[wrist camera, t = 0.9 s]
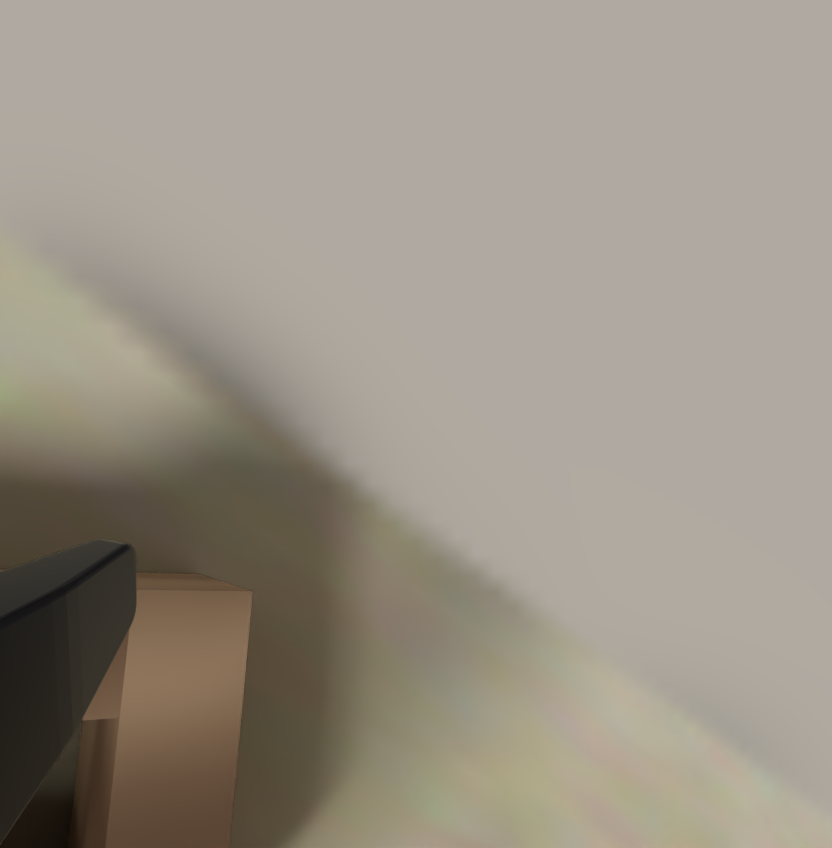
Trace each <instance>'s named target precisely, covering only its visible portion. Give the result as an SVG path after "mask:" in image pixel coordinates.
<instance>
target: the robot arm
mask: <svg viewBox="0 0 832 848" xmlns="http://www.w3.org/2000/svg"><path fill="white" fill-rule="evenodd" d="M136 606H137V586H136V554H135V550H134V548H133V547H132V546H131V545H130V544H128V543H124V542H118V541H112V540H107V539H95V540H92V541H89V542H86V543H83V544H80V545H77V546H74V547H71V548H68V549H66V550H63V551H60V552H57V553H54V554H51V555H48V556H45V557H42V558H39V559H36V560H33V561H30V562H27V563H24V564H21V565H18V566H15V567H12V568H9V569H6V570H3V571H1V572H0V845H1V844H2V842H3V841H4V839H5V838H6V836H7V835H8V833H9V832H10V830H11V829H12V827H13V826H14V824H15V823H16V821H17V820H18V818H19V817H20V815H21V814H22V812H23V811H24V809H25V808H26V806H27V805H28V803H29V802H30V800H31V799H32V797H33V796H34V794H35V793H36V791H37V790H38V788H39V787H40V785H41V784H42V782H43V781H44V779H45V778H46V776H47V775H48V773H49V772H50V770H51V769H52V767H53V766H54V764H55V763H56V761H57V760H58V758H59V757H60V755H61V754H62V752H63V751H64V749H65V747H66V746H67V744H68V743H69V741H70V740H71V738H72V736H73V735H74V733H75V731H76V729H77V728H78V726H79V724H80V722H81V720H82V719H83V717H84V715H85V713H86V711H87V709H88V707H89V705H90V704H91V702H92V700H93V698H94V696H95V694H96V692H97V690H98V688H99V686H100V684H101V682H102V680H103V679H104V677H105V675H106V673H107V671H108V669H109V667H110V665H111V663H112V661H113V659H114V657H115V656H116V654H117V652H118V650H119V648H120V646H121V644H122V642H123V640H124V638H125V636H126V634H127V633H128V631H129V629H130V627H131V625H132V622H133V620H134V616H135V612H136Z"/></svg>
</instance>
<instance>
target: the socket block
mask: <svg viewBox="0 0 832 848" xmlns="http://www.w3.org/2000/svg"><path fill="white" fill-rule="evenodd" d="M3 570H6V569H0V572H1V571H3ZM136 586H137V606H136V612H135V616H134V620H133V622H132V625H131V627H130V629H129V631H128V633H127V634H126V636H125V638H124V640H123V642H122V644H121V646H120V648H119V650H118V652H117V654H116V656H115V657H114V659H113V661H112V663H111V665H110V667H109V669H108V671H107V673H106V675H105V677H104V679H103V680H102V682H101V684H100V686H99V688H98V690H97V692H96V694H95V696H94V698H93V700H92V702H91V704H90V705H89V707H88V709H87V711H86V713H85V715H84V717H83V719H82V729H81V737H80V746H79V755H78V763H77V772H76V780H75V789H74V798H73V806H72V815H71V824H70V832H69V841H68V848H230V837H231V826H232V815H233V804H234V793H235V782H236V771H237V760H238V749H239V738H240V727H241V716H242V705H243V694H244V683H245V672H246V661H247V650H248V639H249V628H250V617H251V606H252V595H253V591H250V590H247V589H244V588H241V587H238V586H235V585H231V584H228V583H225V582H222V581H219V580H216V579H213V578H210V577H207V576H204V575H201V574H179V573H140V572H136Z"/></svg>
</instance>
